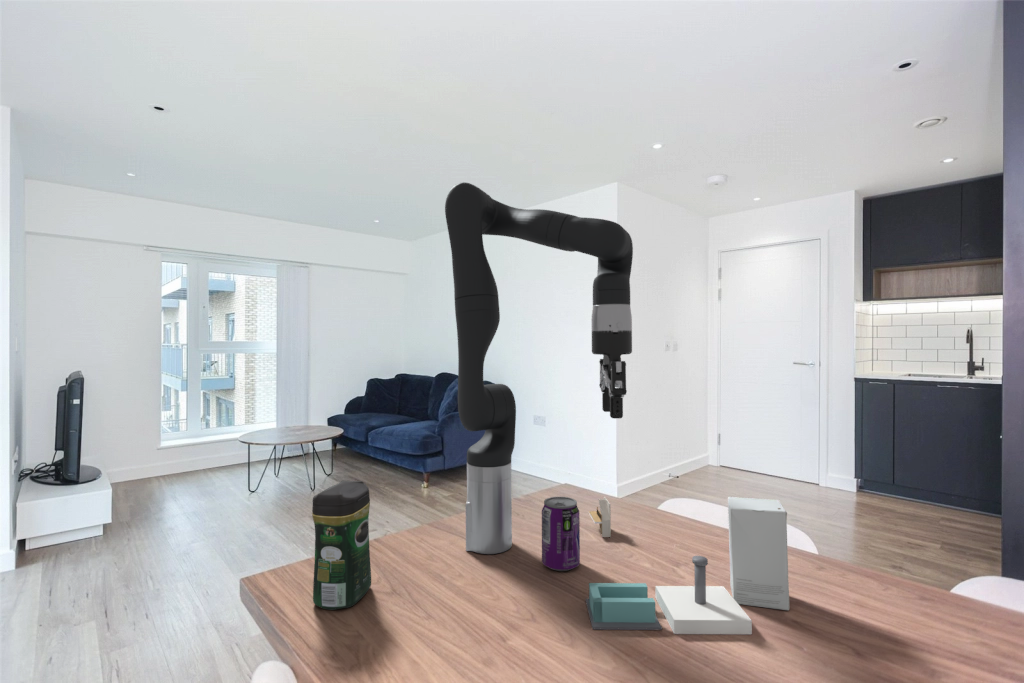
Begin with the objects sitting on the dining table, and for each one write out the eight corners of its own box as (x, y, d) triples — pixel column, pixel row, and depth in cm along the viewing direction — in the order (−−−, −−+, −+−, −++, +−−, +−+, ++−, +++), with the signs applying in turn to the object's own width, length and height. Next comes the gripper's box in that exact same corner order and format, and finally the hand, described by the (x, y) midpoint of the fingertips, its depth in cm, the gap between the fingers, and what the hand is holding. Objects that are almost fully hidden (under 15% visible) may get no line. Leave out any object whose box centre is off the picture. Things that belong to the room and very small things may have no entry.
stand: (674, 633, 71) (673, 573, 71) (655, 598, 81) (655, 545, 81) (751, 634, 71) (751, 574, 71) (723, 598, 81) (723, 545, 81)
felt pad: (592, 629, 72) (592, 626, 72) (585, 601, 80) (585, 598, 80) (661, 629, 72) (661, 627, 72) (647, 601, 80) (647, 598, 80)
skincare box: (782, 593, 82) (781, 499, 83) (790, 613, 76) (789, 512, 76) (727, 585, 85) (727, 494, 85) (731, 604, 79) (730, 506, 79)
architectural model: (595, 539, 106) (594, 504, 106) (588, 527, 113) (588, 495, 113) (611, 539, 107) (610, 504, 107) (603, 527, 114) (603, 494, 114)
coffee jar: (335, 581, 88) (334, 475, 88) (377, 584, 86) (377, 477, 86) (303, 610, 78) (302, 492, 78) (350, 614, 77) (349, 494, 77)
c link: (594, 622, 74) (594, 601, 74) (589, 601, 79) (589, 582, 79) (655, 622, 73) (655, 602, 73) (645, 602, 79) (645, 583, 79)
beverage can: (578, 575, 89) (578, 508, 89) (539, 572, 91) (539, 506, 91) (581, 558, 96) (580, 496, 96) (544, 555, 98) (544, 494, 98)
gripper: (586, 330, 102) (587, 409, 102) (597, 328, 87) (598, 420, 87) (623, 330, 101) (624, 409, 101) (640, 328, 87) (641, 420, 87)
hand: (612, 414), depth 94 cm, fingers open, 8 cm apart
